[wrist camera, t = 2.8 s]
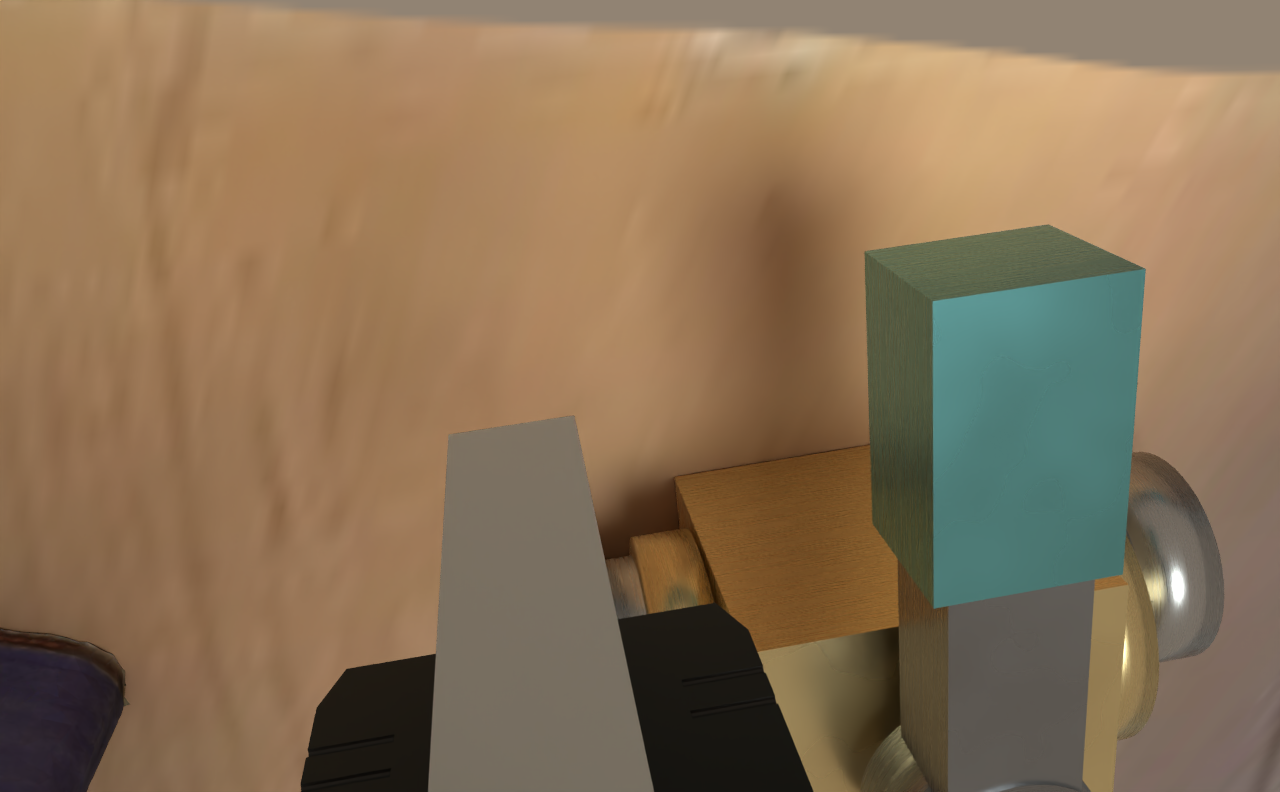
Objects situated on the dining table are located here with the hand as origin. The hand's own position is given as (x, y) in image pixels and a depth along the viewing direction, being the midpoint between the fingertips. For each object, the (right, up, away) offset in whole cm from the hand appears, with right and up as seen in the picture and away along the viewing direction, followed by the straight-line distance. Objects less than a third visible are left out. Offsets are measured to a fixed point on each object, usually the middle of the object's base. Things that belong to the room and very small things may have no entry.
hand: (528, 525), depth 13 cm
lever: (+7, -2, +5) cm, 8 cm away
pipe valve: (+6, -2, +13) cm, 15 cm away
